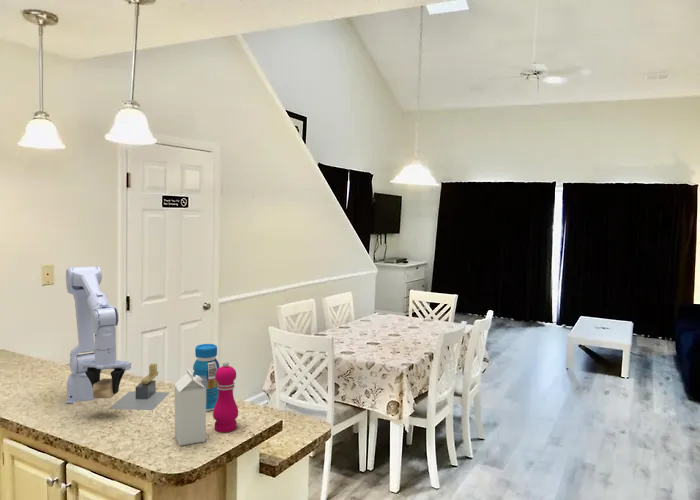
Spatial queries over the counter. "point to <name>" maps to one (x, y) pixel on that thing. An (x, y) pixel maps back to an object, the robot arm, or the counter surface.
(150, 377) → the latch bolt
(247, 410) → the counter surface
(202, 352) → the beverage bottle
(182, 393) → the milk carton
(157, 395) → the housing plate
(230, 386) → the pepper mill
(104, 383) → the oak cover
